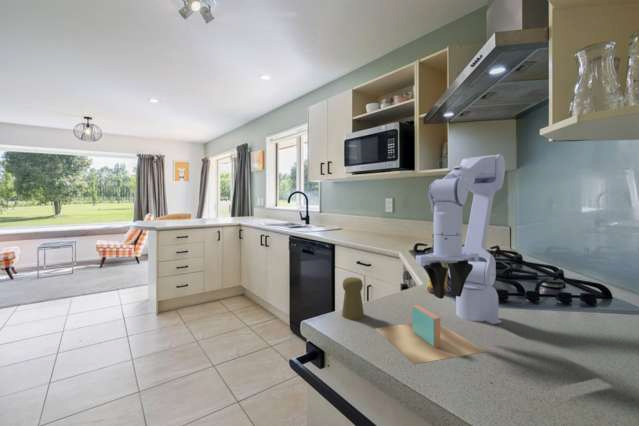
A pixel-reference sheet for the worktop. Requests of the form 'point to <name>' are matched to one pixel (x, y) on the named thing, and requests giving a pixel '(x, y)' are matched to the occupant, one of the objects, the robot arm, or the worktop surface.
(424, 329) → the tile
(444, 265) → the sauce bottle
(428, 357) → the tan cloth
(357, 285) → the pepper shaker
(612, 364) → the worktop surface
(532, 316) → the worktop surface
